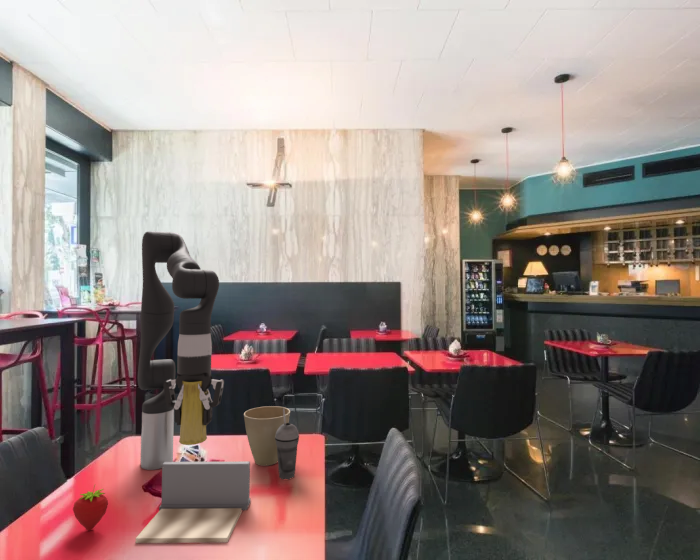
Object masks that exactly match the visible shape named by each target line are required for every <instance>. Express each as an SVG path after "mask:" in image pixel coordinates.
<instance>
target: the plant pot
mask: <svg viewBox="0 0 700 560" xmlns="http://www.w3.org/2000/svg"><path fill="white" fill-rule="evenodd" d="M283 409H285V419H286V423H290V416H291V410H290V409H289V408H287V407H284V406H279V405H278V406H274V405H273V406H272V405H271V406H270V405H269V406H267V405H266V406H260V407H254V408H250V409H248V410H246V411H245V412H244V413H243V418H244V426H245V427H244V428H245V431H246V437H247V441H248V444H249V448H250V452H251V454H252V457H253V460H254V463H255V464H256V465H257V466H260V467H261V466H262V467H263V466H264V467H267V466H272V465H274V464H278V456H277V445H276V440H275V436H276V432H277V430H278V428H279V427H280V426H281V425H282V424H284V415H283Z"/></svg>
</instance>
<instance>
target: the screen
mask: <svg viewBox="0 0 700 560" xmlns="http://www.w3.org/2000/svg"><path fill="white" fill-rule="evenodd" d="M250 468H251V461H173V462H164V463H163V464H162V468H161V470H162V471H161V504H160V505H159V506H158V512H159V511H160V510H161V509H214V508H242V509H241V511H248V508H249V506H250V504H251V502H252V501H251V497H250V493H251V492H250V483H251V482H250V477H251V475H250V474H251V473H250V472H251V471H250V470H251V469H250Z"/></svg>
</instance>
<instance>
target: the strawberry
mask: <svg viewBox="0 0 700 560" xmlns="http://www.w3.org/2000/svg"><path fill="white" fill-rule="evenodd" d="M95 487H96V484H94V485H93V490H92V491H87V493H80V494H79V496H81V497H79V498H78V499H77V500H76V501H75V502H74V504H73V507H72V511H73V515H74V517H75V519H76V520H77V521H78V523H80V525H81V526H82V527H84V528H85V530H86V531H92V530H93V529H94V528H95V527H96V525H98V523H99V522H101V520H102V518H103V517H104V515H105V513H106V512H107V509H108V505H109V499H108V497H106V496H105V494H106V492H102V491H104V488H101V489H98V490H95Z"/></svg>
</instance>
